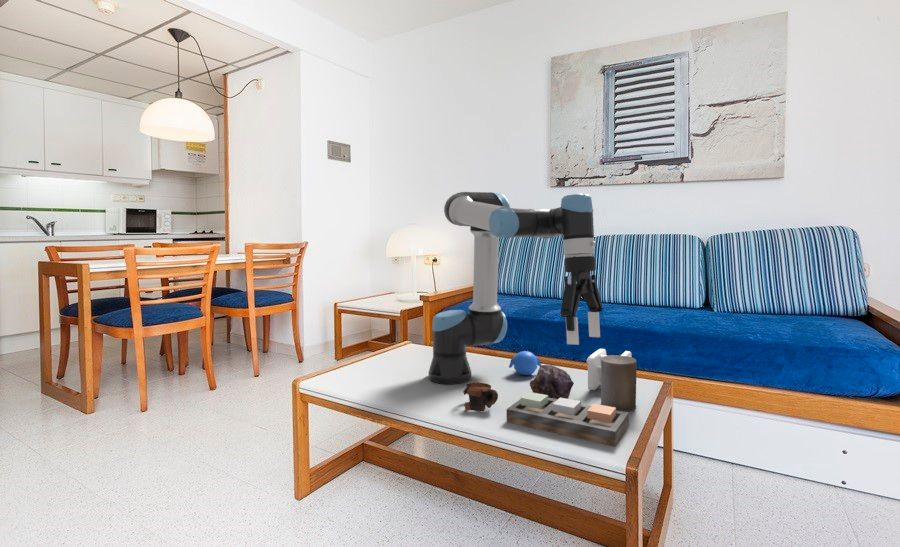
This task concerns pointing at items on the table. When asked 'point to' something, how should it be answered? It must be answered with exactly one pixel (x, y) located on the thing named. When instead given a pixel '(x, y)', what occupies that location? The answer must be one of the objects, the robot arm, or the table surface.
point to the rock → (552, 382)
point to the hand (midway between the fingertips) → (584, 340)
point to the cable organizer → (597, 367)
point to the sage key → (534, 400)
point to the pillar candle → (618, 382)
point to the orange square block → (601, 413)
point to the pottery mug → (480, 396)
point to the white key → (566, 406)
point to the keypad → (570, 422)
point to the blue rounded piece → (525, 363)
